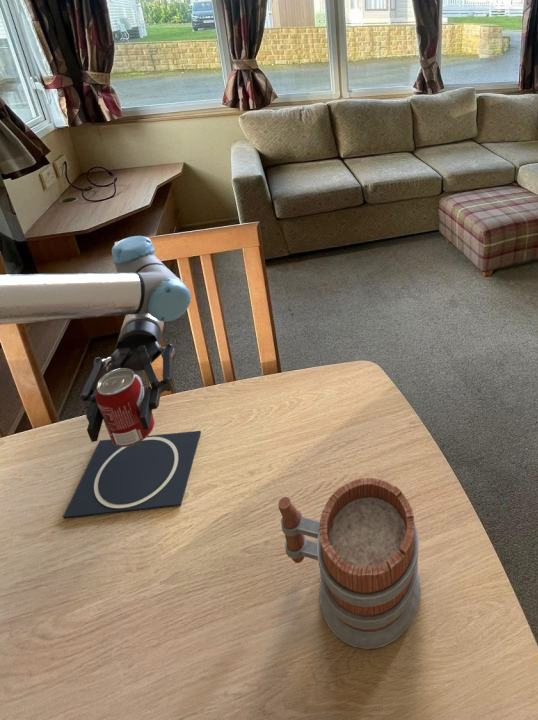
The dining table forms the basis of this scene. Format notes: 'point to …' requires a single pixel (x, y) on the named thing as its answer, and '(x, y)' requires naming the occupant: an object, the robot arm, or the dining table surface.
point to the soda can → (122, 406)
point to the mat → (135, 475)
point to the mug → (361, 560)
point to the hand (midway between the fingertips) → (118, 429)
